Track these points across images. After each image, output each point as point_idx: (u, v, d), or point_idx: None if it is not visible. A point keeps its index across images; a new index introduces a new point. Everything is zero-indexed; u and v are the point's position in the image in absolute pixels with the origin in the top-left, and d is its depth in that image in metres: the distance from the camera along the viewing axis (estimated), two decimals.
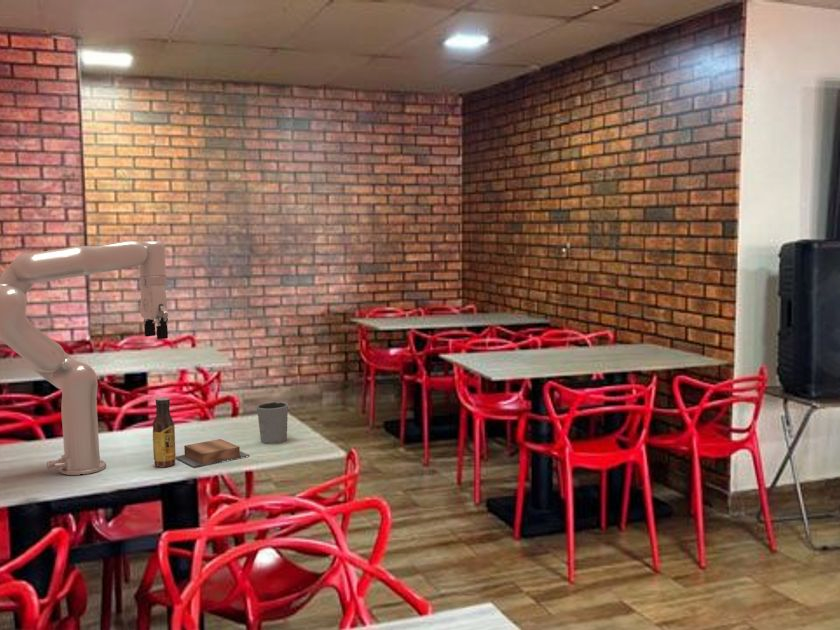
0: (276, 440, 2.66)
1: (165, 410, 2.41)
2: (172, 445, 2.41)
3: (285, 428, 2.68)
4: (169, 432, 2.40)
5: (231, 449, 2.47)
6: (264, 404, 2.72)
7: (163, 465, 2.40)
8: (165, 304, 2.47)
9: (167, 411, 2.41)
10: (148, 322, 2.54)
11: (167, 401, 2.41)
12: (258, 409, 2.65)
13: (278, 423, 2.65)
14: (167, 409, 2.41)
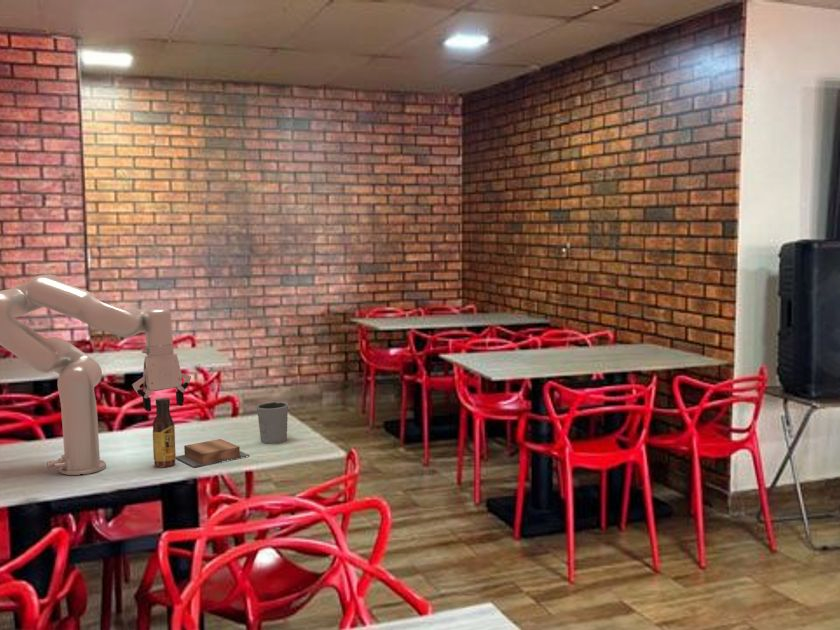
0: (276, 440, 2.66)
1: (165, 410, 2.41)
2: (172, 445, 2.41)
3: (285, 428, 2.68)
4: (169, 432, 2.40)
5: (231, 449, 2.47)
6: (264, 404, 2.72)
7: (163, 465, 2.40)
8: None
9: (167, 411, 2.41)
10: None
11: (167, 401, 2.41)
12: (258, 409, 2.65)
13: (278, 423, 2.65)
14: (167, 409, 2.41)
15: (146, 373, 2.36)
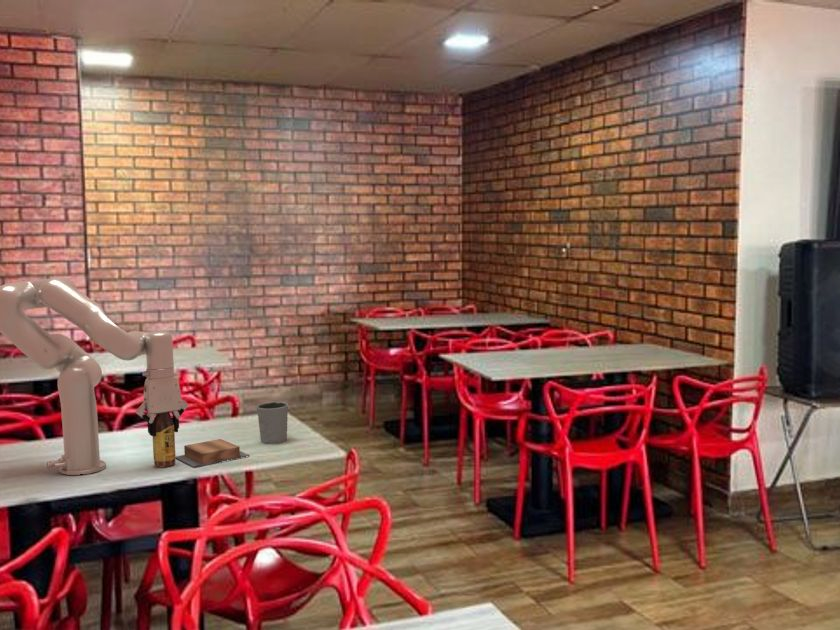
0: (276, 440, 2.66)
1: None
2: (172, 444, 2.41)
3: (285, 428, 2.68)
4: (168, 432, 2.40)
5: (231, 449, 2.47)
6: (264, 404, 2.72)
7: (163, 465, 2.40)
8: None
9: None
10: None
11: None
12: (258, 409, 2.65)
13: (278, 423, 2.65)
14: None
15: (146, 396, 2.37)
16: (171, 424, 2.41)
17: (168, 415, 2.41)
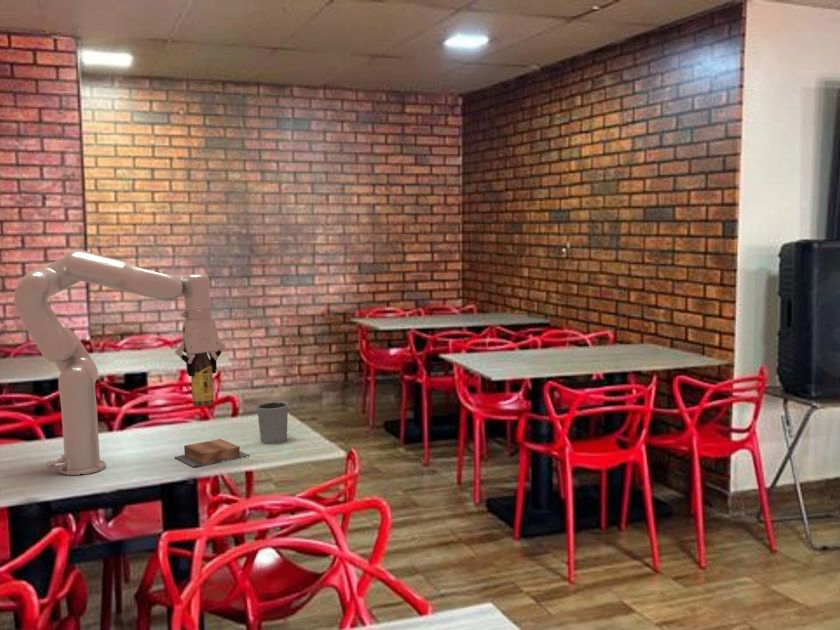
0: (276, 440, 2.66)
1: None
2: (210, 385, 2.46)
3: (285, 428, 2.68)
4: (207, 373, 2.45)
5: (231, 449, 2.47)
6: (264, 404, 2.72)
7: (202, 405, 2.45)
8: None
9: None
10: None
11: None
12: (258, 409, 2.65)
13: (278, 423, 2.65)
14: None
15: (185, 337, 2.42)
16: (209, 365, 2.46)
17: (206, 356, 2.46)
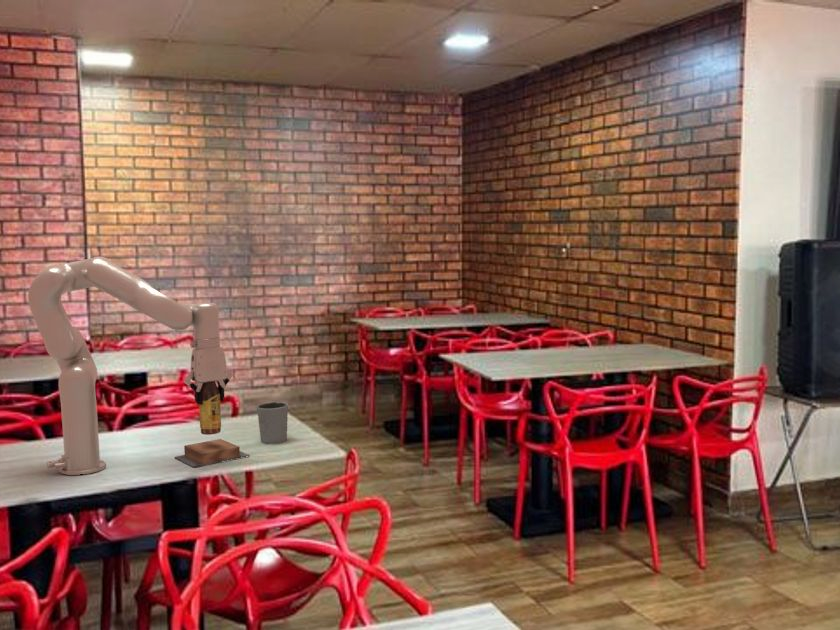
0: (276, 440, 2.66)
1: None
2: (218, 413, 2.48)
3: (285, 428, 2.68)
4: (215, 401, 2.47)
5: (231, 449, 2.47)
6: (264, 404, 2.72)
7: (210, 433, 2.47)
8: None
9: None
10: None
11: None
12: (258, 409, 2.65)
13: (278, 423, 2.65)
14: None
15: (194, 365, 2.44)
16: (217, 393, 2.48)
17: (214, 384, 2.48)
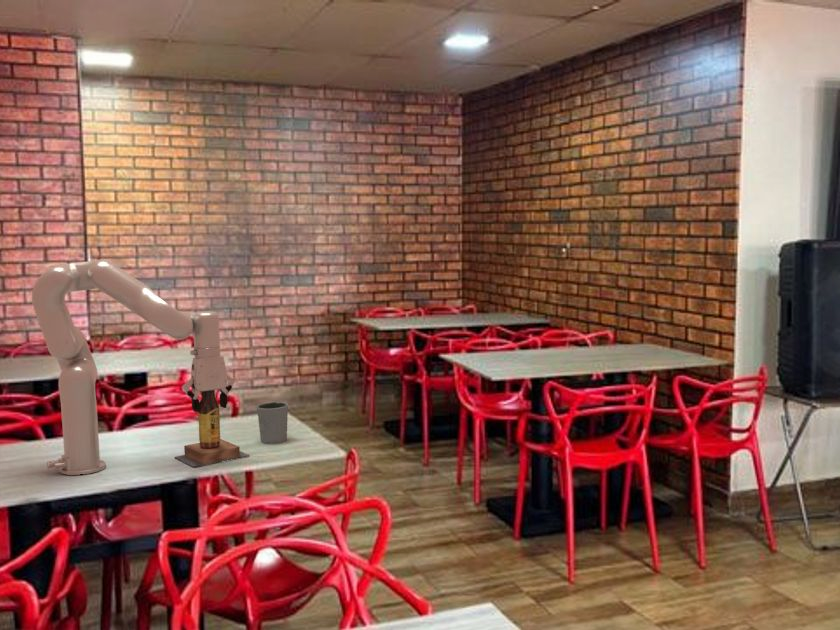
0: (276, 440, 2.66)
1: (210, 392, 2.47)
2: (217, 426, 2.48)
3: (285, 428, 2.68)
4: (214, 414, 2.47)
5: (231, 449, 2.47)
6: (264, 404, 2.72)
7: (209, 447, 2.47)
8: None
9: (212, 394, 2.48)
10: None
11: None
12: (258, 409, 2.65)
13: (278, 423, 2.65)
14: (212, 392, 2.48)
15: (194, 374, 2.44)
16: (217, 406, 2.48)
17: (214, 398, 2.48)
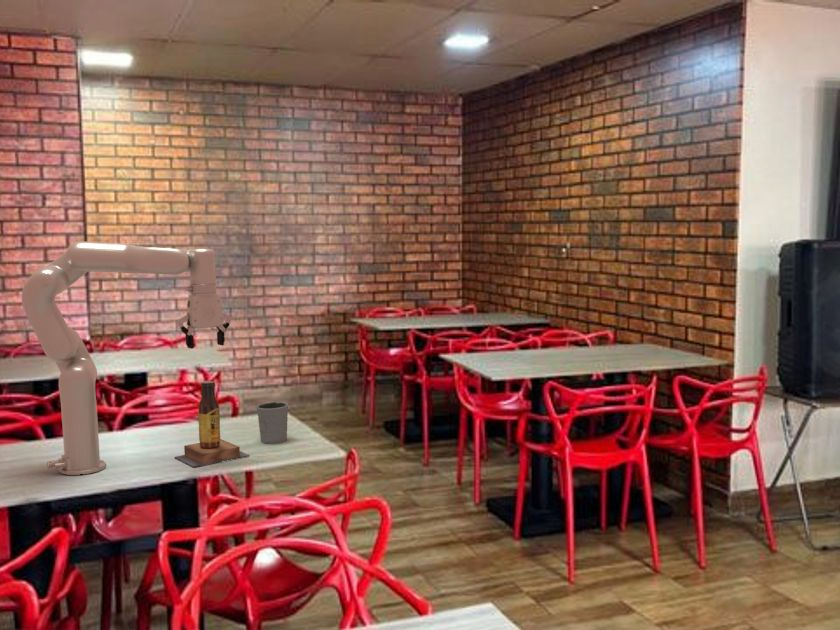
0: (276, 440, 2.66)
1: (210, 392, 2.47)
2: (217, 426, 2.48)
3: (285, 428, 2.68)
4: (214, 414, 2.47)
5: (231, 449, 2.47)
6: (264, 404, 2.72)
7: (209, 447, 2.47)
8: None
9: (212, 394, 2.48)
10: None
11: (212, 384, 2.48)
12: (258, 409, 2.65)
13: (278, 423, 2.65)
14: (212, 392, 2.48)
15: (190, 311, 2.42)
16: (217, 406, 2.48)
17: (214, 398, 2.48)
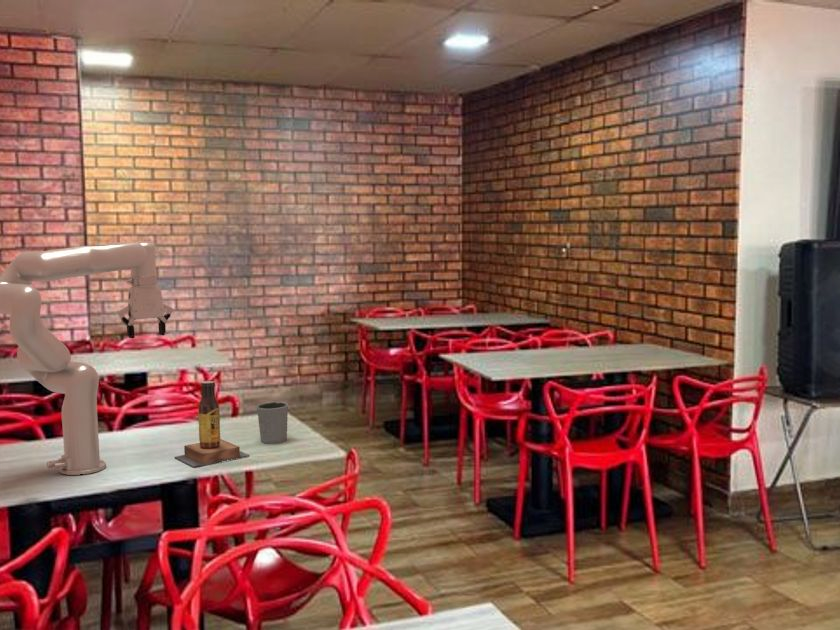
0: (276, 440, 2.66)
1: (210, 392, 2.47)
2: (217, 426, 2.48)
3: (285, 428, 2.68)
4: (214, 414, 2.47)
5: (231, 449, 2.47)
6: (264, 404, 2.72)
7: (209, 447, 2.47)
8: None
9: (212, 394, 2.48)
10: None
11: (212, 384, 2.48)
12: (258, 409, 2.65)
13: (278, 423, 2.65)
14: (212, 392, 2.48)
15: (130, 302, 2.52)
16: (217, 406, 2.48)
17: (214, 398, 2.48)
